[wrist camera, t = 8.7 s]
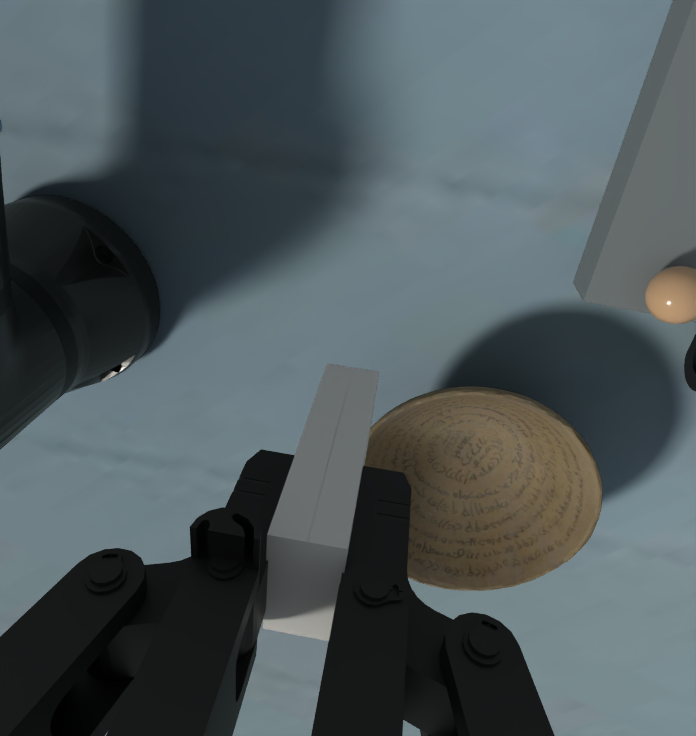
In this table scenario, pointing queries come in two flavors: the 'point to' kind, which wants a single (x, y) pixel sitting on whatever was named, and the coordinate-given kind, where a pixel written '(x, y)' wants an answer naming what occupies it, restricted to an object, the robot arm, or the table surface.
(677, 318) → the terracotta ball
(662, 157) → the slate board
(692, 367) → the pipe connector
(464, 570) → the bowl
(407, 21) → the table surface
